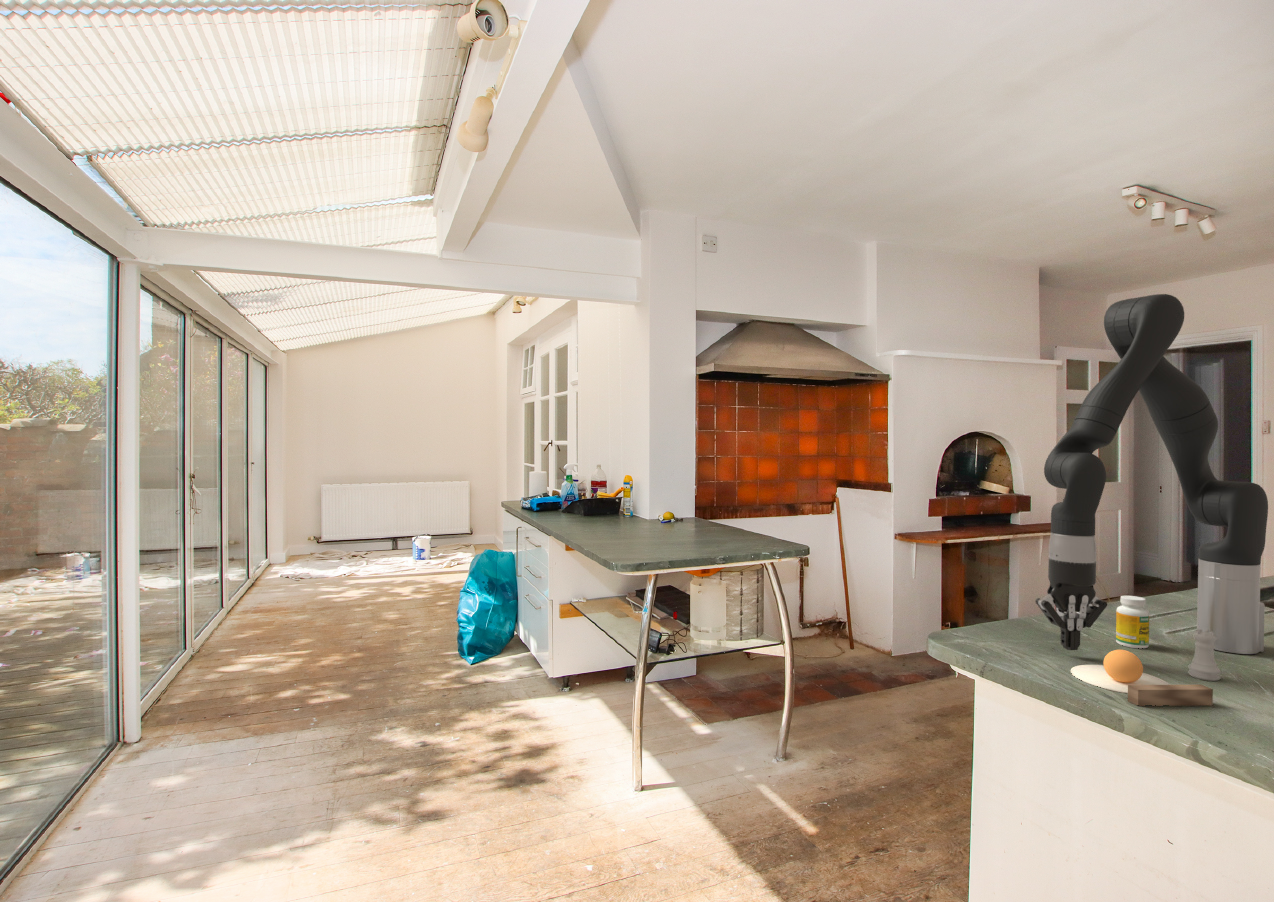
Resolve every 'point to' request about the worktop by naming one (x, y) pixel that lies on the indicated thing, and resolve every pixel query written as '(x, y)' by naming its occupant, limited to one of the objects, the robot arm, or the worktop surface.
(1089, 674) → the disc
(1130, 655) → the egg
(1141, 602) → the supplement bottle
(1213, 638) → the rook chess piece
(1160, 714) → the worktop surface
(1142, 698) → the rail
